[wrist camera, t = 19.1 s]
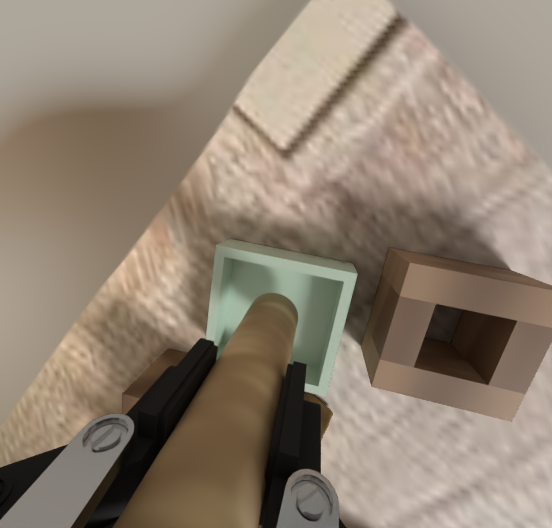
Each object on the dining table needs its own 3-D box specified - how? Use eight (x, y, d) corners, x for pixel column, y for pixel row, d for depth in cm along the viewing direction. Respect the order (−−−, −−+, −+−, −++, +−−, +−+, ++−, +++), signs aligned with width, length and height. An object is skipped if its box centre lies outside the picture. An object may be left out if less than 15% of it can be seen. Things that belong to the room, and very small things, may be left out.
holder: (512, 270, 15) (575, 294, 12) (469, 372, 17) (511, 421, 13) (389, 247, 16) (409, 262, 12) (361, 346, 18) (371, 386, 14)
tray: (352, 263, 17) (357, 273, 14) (325, 371, 19) (325, 396, 17) (229, 238, 18) (215, 245, 15) (217, 344, 20) (202, 364, 18)
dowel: (302, 298, 15) (243, 602, 4) (293, 342, 16) (224, 693, 5) (252, 288, 16) (73, 541, 4) (246, 331, 17) (83, 635, 5)
